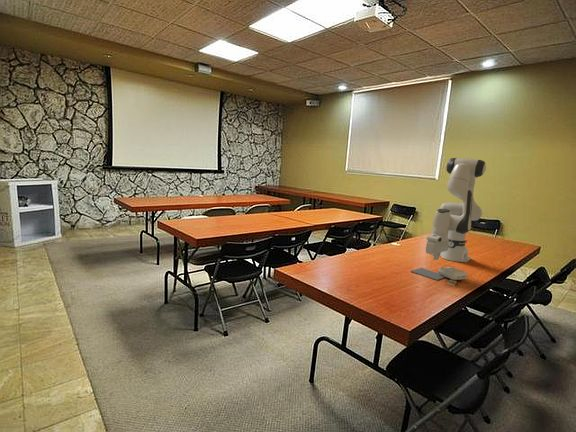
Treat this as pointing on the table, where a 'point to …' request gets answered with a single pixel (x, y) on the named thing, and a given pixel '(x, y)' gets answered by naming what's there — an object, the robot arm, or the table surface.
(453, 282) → the turner
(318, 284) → the table surface
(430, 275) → the mat
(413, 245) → the table surface
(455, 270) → the photo printer
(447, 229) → the robot arm
